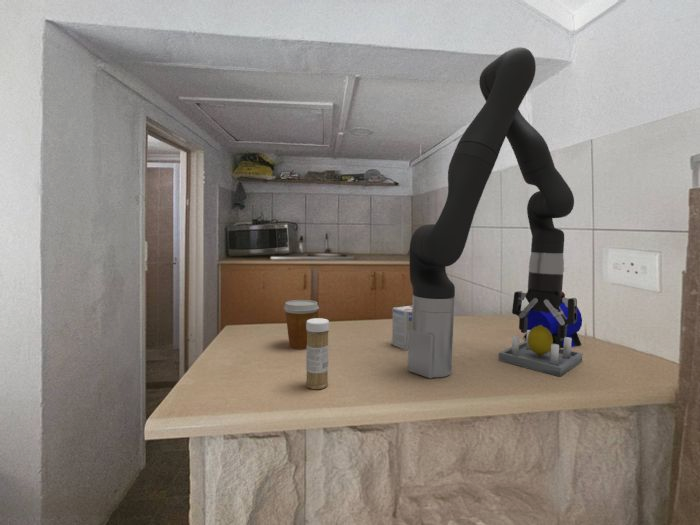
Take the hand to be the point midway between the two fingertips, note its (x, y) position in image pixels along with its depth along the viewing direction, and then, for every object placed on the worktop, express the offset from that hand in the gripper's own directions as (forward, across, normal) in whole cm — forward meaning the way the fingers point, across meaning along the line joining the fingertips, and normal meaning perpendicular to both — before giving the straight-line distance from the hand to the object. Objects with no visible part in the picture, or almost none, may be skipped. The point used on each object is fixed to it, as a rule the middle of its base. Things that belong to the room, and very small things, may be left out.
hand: (541, 336), depth 91 cm
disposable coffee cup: (+7, -48, -39) cm, 62 cm away
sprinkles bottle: (+7, -24, -52) cm, 57 cm away
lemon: (+6, 0, 0) cm, 6 cm away
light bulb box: (+7, -29, -14) cm, 33 cm away
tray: (+6, 0, 0) cm, 6 cm away
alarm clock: (+6, -5, +21) cm, 23 cm away
